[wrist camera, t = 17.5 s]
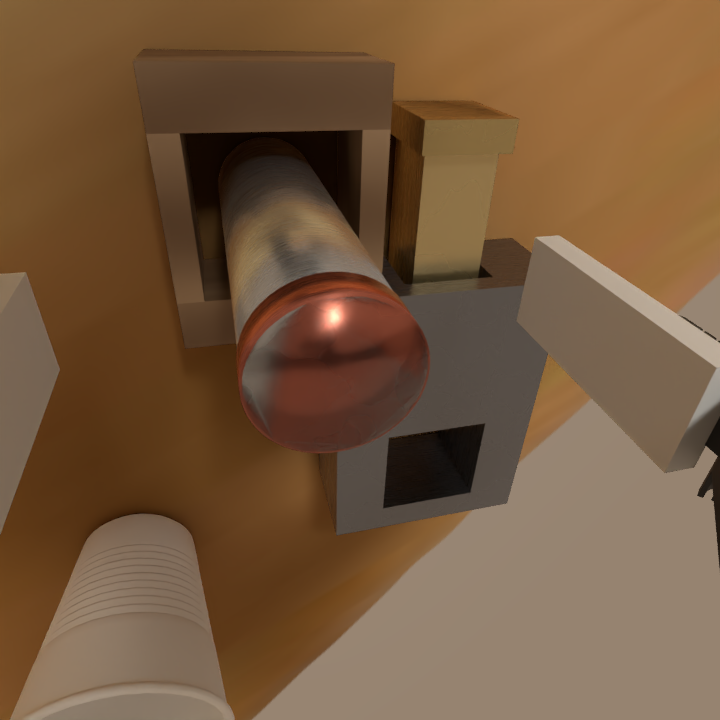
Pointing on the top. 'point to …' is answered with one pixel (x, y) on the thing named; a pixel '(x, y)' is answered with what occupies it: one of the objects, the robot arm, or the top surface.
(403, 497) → the socket block
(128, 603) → the cup
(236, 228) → the cylinder
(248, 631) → the top surface
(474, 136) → the tan square peg
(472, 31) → the top surface
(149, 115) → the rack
